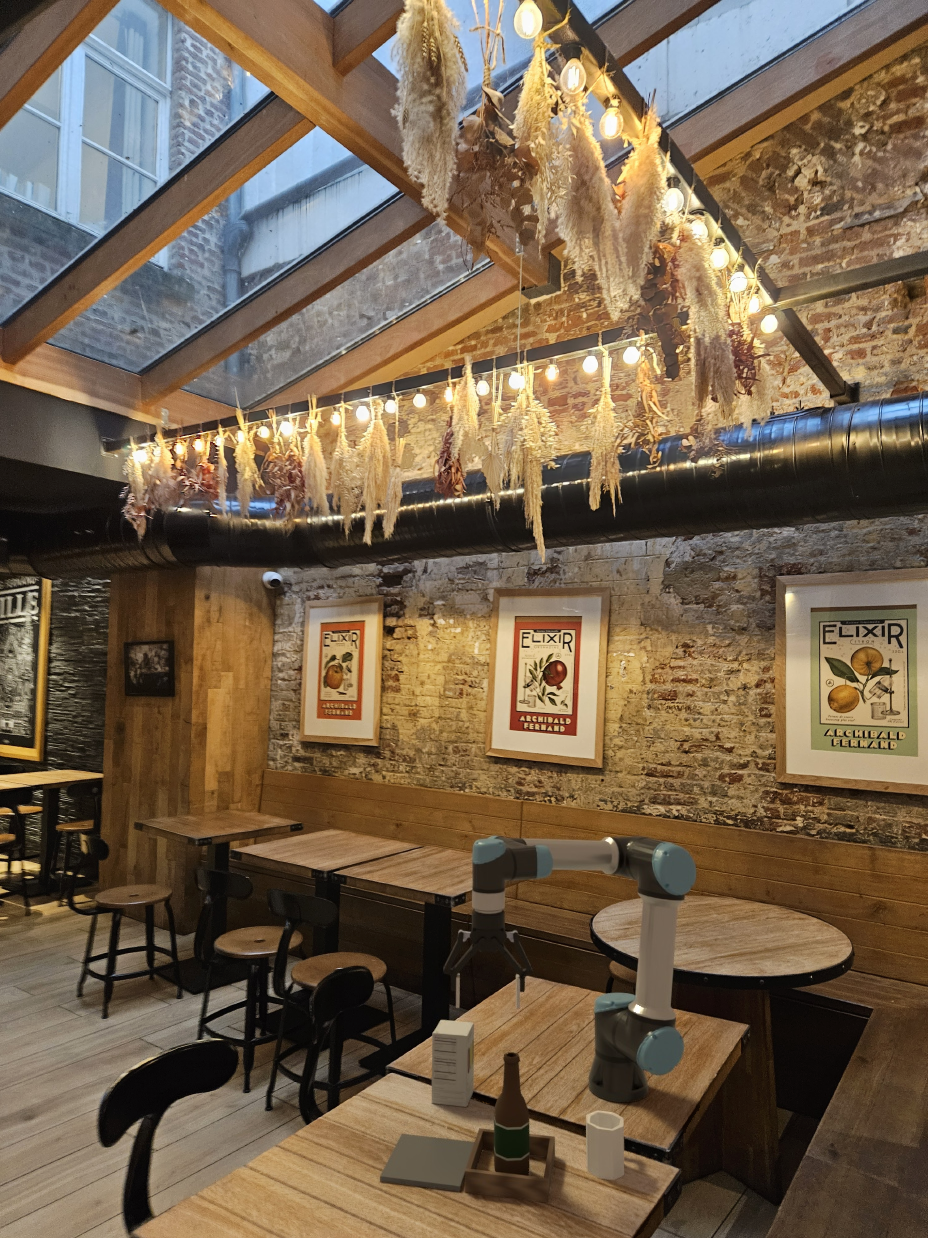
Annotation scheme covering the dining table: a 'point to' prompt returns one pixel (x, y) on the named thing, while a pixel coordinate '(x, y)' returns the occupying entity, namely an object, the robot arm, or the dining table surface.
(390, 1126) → the dining table surface
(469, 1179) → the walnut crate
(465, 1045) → the supplement box
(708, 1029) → the dining table surface
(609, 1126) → the mug
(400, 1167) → the slate pad
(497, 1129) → the beer bottle
